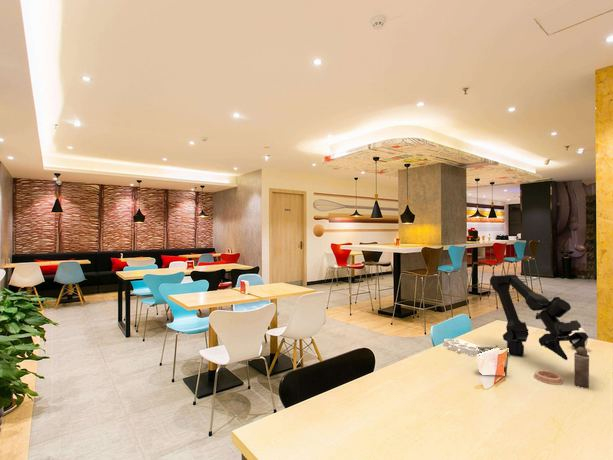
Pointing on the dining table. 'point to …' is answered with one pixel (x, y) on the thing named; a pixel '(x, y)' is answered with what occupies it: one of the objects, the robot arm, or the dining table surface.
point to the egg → (579, 331)
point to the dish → (548, 377)
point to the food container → (492, 348)
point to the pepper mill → (581, 368)
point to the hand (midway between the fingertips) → (576, 359)
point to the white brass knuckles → (462, 346)
